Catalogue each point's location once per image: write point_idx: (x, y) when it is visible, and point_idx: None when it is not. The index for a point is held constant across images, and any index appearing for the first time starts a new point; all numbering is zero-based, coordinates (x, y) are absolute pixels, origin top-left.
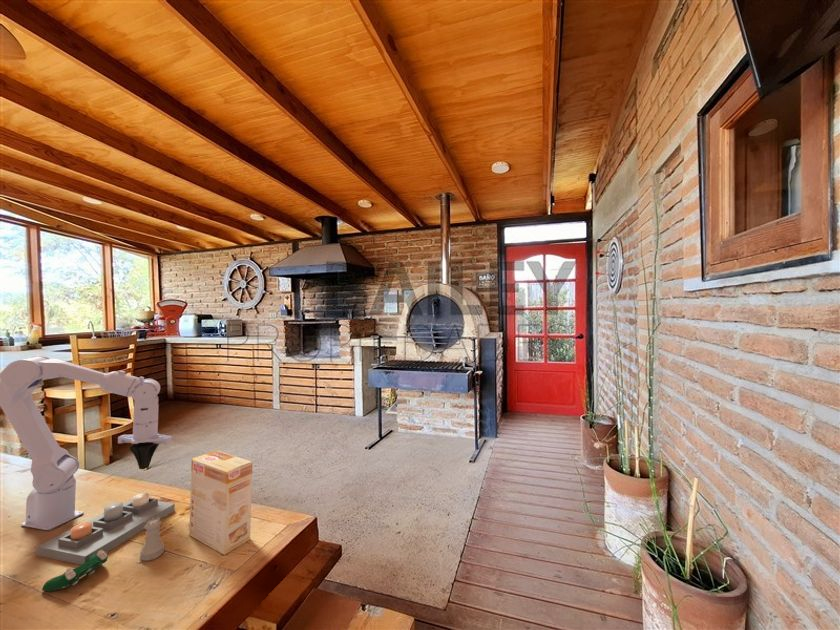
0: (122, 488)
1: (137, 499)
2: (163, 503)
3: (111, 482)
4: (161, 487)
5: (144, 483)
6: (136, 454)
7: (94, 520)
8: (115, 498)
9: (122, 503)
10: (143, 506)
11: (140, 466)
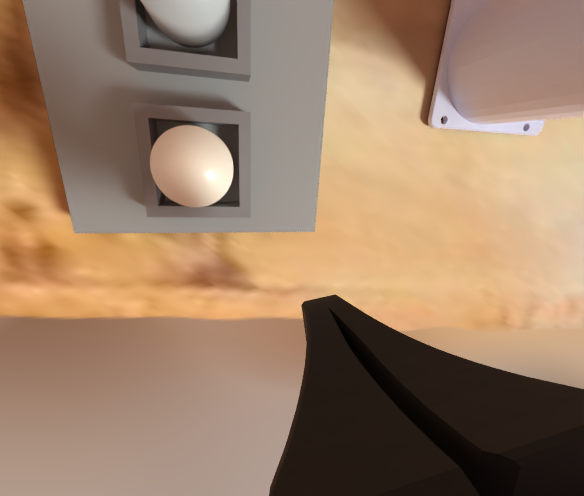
0: (435, 292)
1: (172, 131)
2: (132, 221)
3: (495, 308)
4: None
5: None
6: (423, 367)
7: (305, 21)
8: (406, 238)
9: (152, 5)
10: (136, 132)
11: (330, 304)
